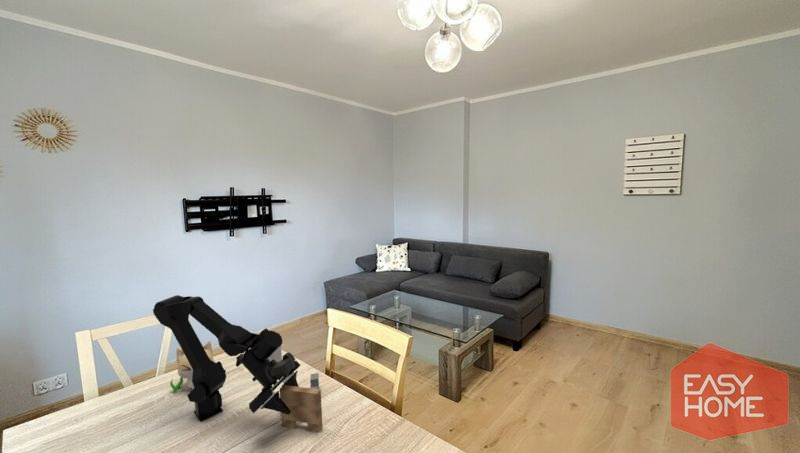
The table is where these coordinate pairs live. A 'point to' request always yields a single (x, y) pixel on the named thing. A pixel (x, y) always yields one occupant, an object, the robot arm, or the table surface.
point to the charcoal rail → (314, 381)
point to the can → (276, 355)
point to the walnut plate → (302, 407)
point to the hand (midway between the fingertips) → (296, 405)
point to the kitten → (188, 366)
